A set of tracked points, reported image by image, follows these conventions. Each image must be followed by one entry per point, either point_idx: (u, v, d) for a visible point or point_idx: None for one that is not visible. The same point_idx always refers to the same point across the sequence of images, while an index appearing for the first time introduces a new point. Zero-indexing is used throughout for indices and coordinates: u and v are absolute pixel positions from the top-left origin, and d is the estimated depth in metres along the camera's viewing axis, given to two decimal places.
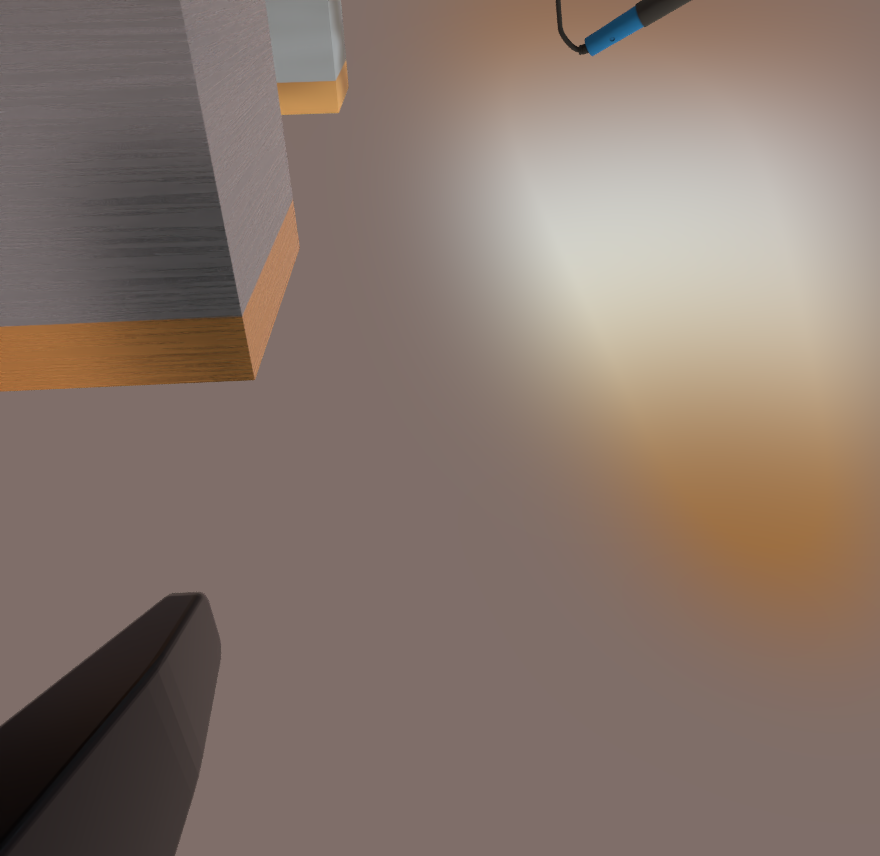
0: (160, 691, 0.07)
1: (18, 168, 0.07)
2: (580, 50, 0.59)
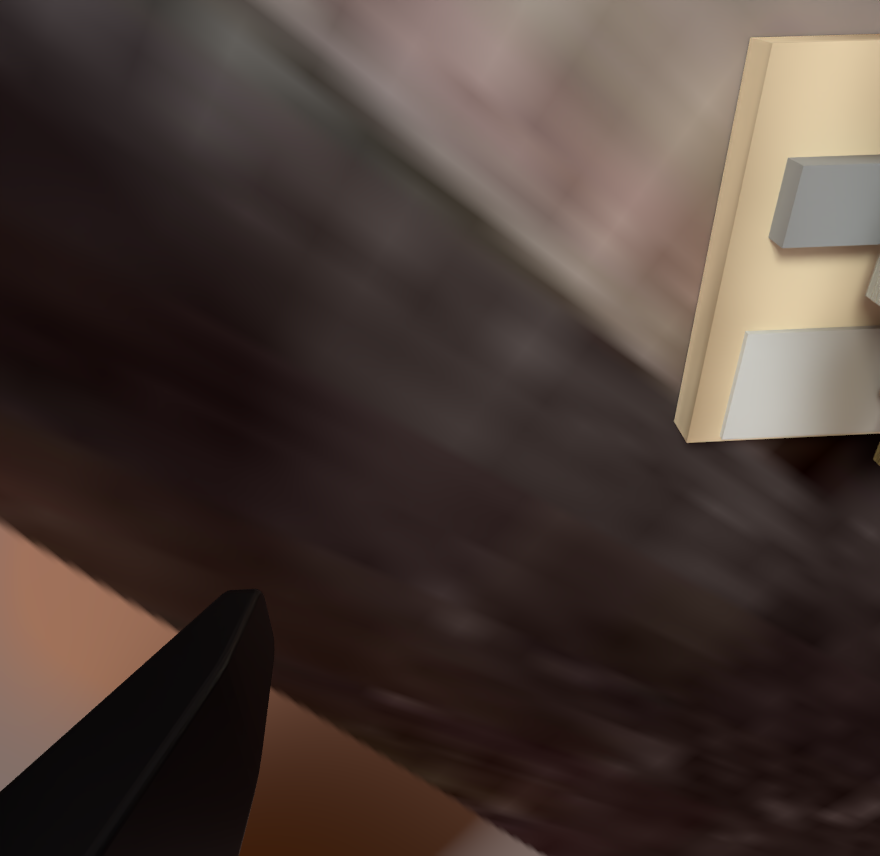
0: (229, 687, 0.07)
1: None
2: None
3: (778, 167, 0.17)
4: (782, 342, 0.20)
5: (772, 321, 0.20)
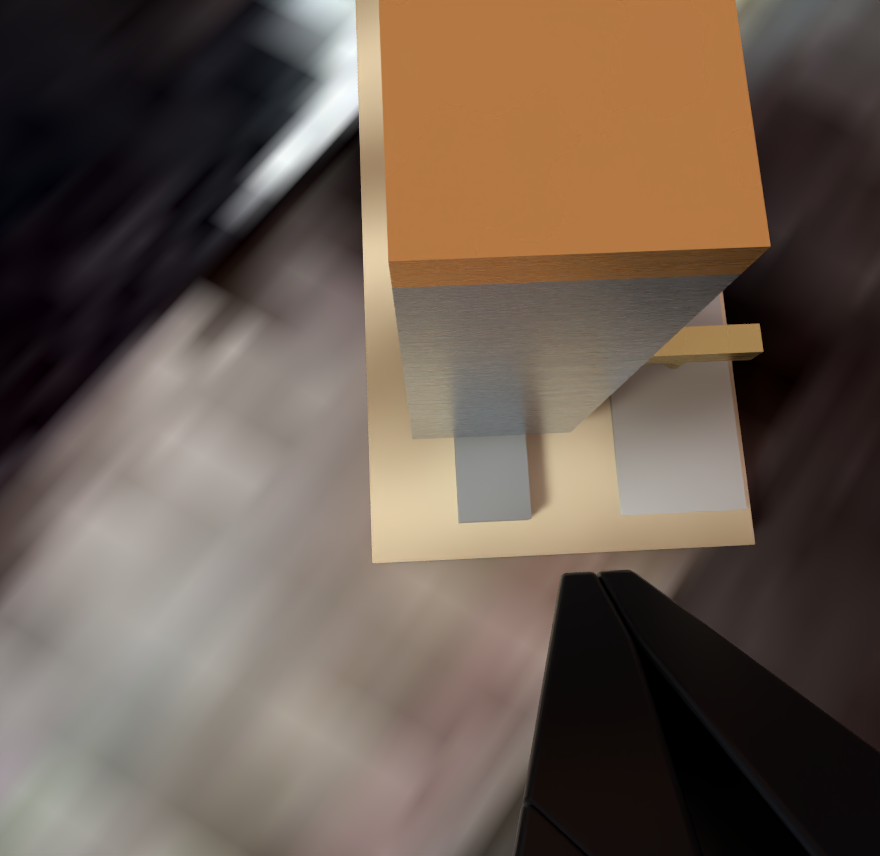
0: None
1: (521, 325, 0.11)
2: None
3: (466, 529, 0.20)
4: (629, 477, 0.21)
5: (609, 491, 0.21)
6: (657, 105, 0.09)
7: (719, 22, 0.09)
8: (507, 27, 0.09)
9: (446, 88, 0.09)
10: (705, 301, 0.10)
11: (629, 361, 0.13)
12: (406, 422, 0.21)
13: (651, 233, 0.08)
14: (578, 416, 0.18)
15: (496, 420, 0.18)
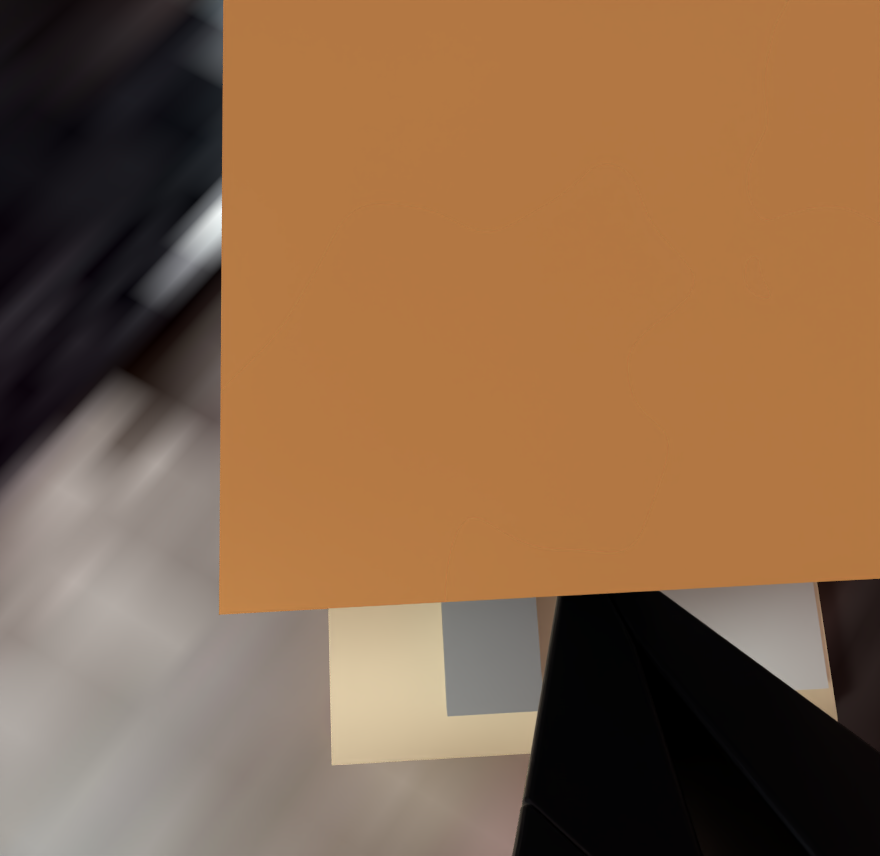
0: None
1: None
2: None
3: (457, 718, 0.15)
4: None
5: None
6: (874, 202, 0.04)
7: None
8: (518, 20, 0.04)
9: (375, 163, 0.04)
10: None
11: None
12: None
13: None
14: None
15: None
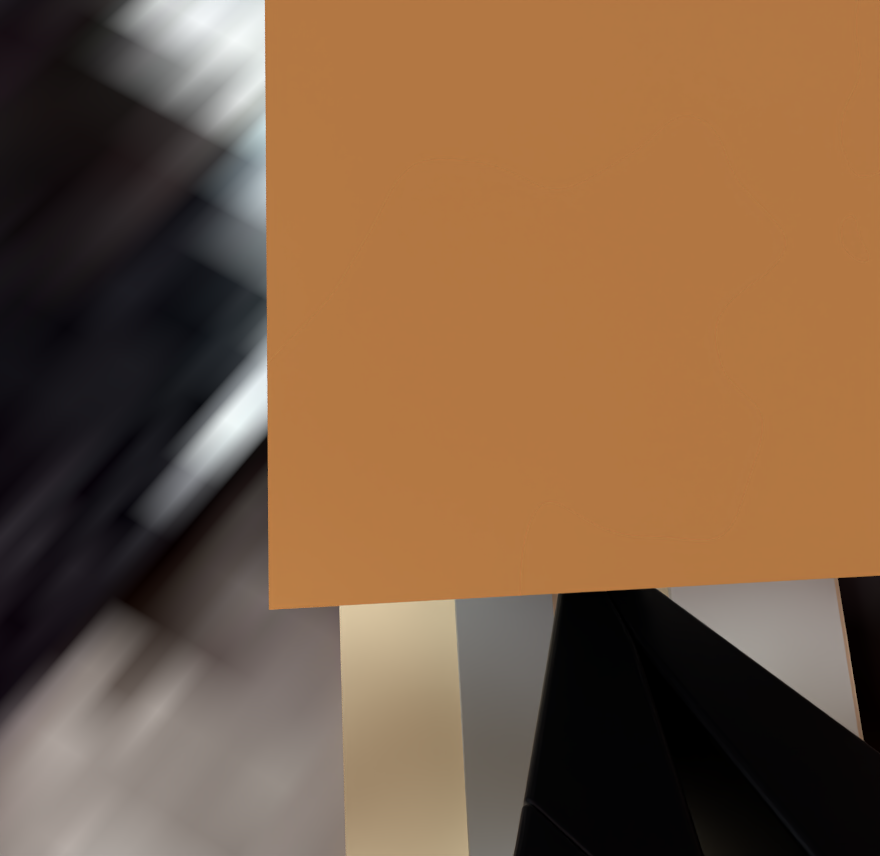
0: None
1: None
2: None
3: None
4: None
5: None
6: None
7: None
8: None
9: (433, 115, 0.03)
10: None
11: None
12: (400, 853, 0.14)
13: None
14: None
15: None
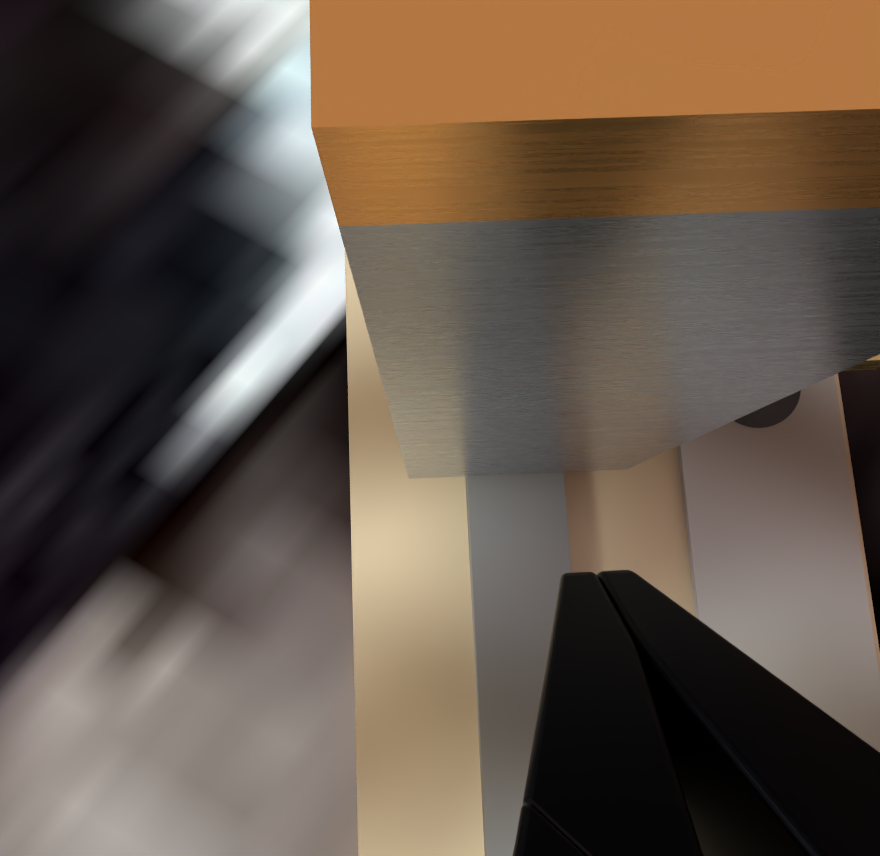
0: None
1: (626, 321, 0.05)
2: None
3: None
4: None
5: None
6: None
7: None
8: None
9: None
10: None
11: (781, 385, 0.07)
12: (413, 813, 0.14)
13: None
14: (648, 453, 0.12)
15: (529, 459, 0.12)
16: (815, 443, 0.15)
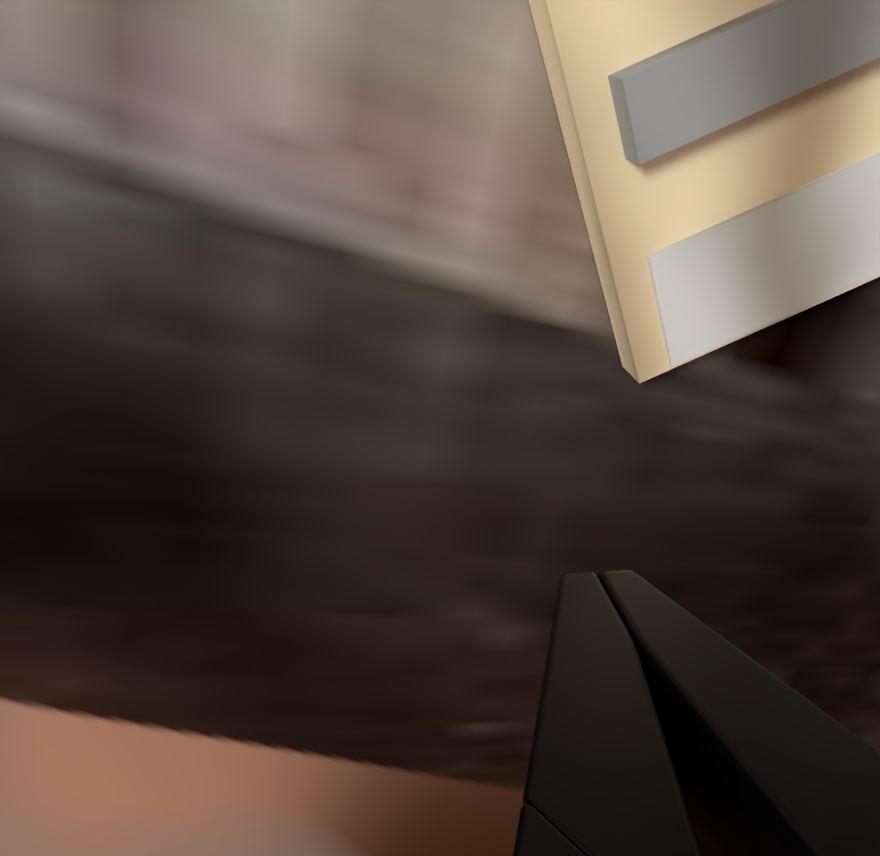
0: None
1: None
2: None
3: (602, 88, 0.17)
4: (687, 252, 0.19)
5: (669, 235, 0.19)
6: None
7: None
8: None
9: None
10: None
11: None
12: None
13: None
14: None
15: None
16: None
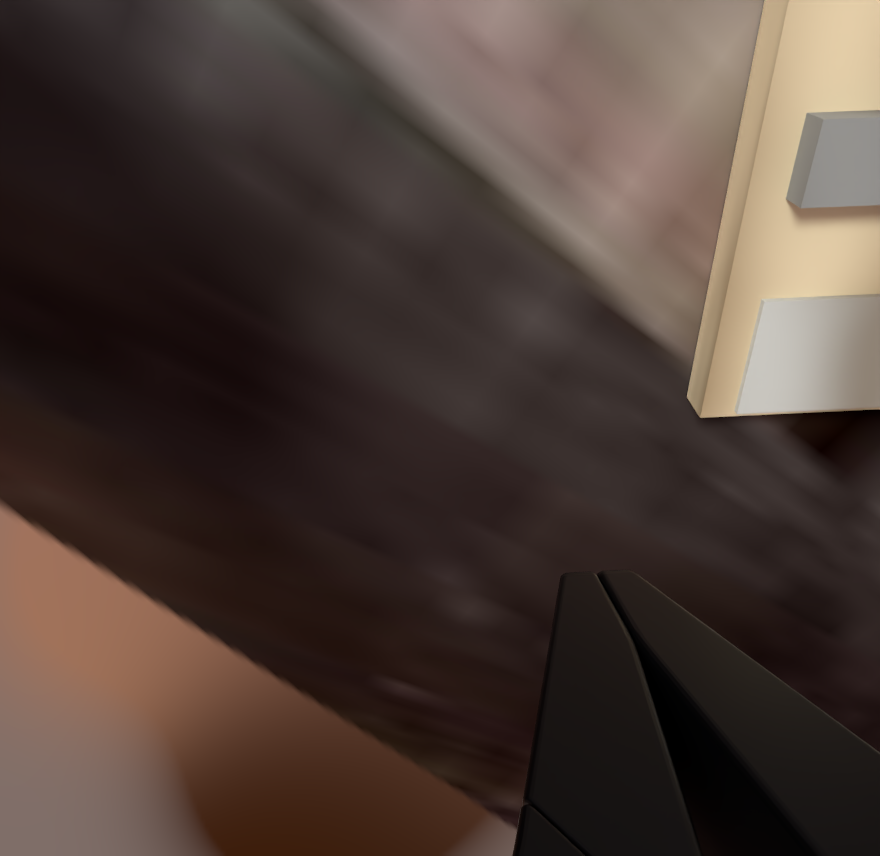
0: None
1: None
2: None
3: (796, 123, 0.17)
4: (800, 310, 0.19)
5: (790, 288, 0.19)
6: None
7: None
8: None
9: None
10: None
11: None
12: None
13: None
14: None
15: None
16: None
